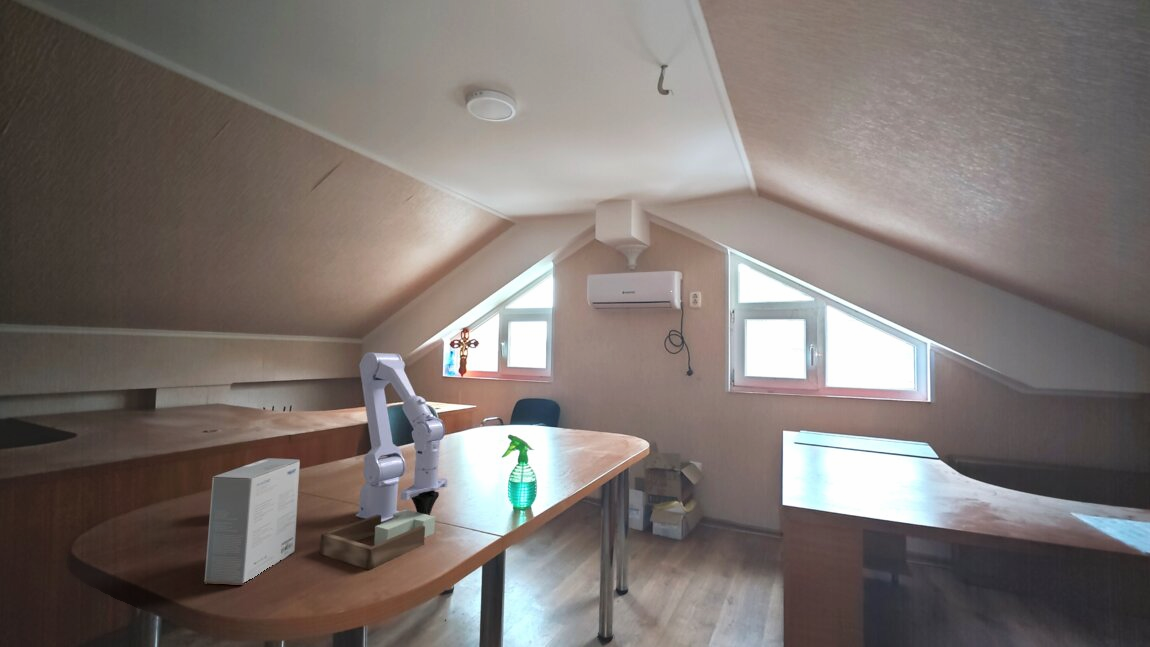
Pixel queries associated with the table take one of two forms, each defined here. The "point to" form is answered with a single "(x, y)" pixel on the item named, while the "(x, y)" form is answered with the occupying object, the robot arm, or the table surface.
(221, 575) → the hard drive box
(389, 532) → the t block
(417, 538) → the wooden tray
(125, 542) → the table surface
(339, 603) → the table surface
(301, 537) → the table surface
